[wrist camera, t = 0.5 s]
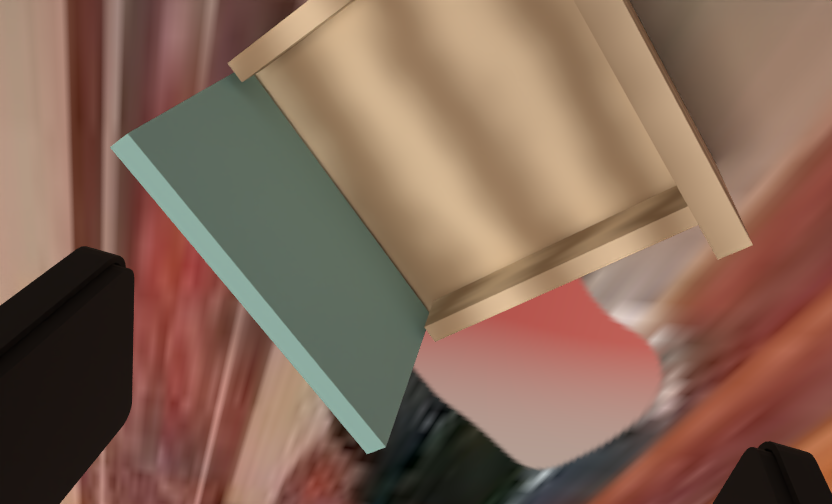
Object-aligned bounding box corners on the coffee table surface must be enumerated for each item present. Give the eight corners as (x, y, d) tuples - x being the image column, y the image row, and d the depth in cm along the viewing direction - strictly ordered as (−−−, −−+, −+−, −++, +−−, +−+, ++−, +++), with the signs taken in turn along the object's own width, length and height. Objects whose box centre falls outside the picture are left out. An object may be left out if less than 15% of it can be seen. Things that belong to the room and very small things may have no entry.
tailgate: (246, 65, 39) (127, 133, 29) (431, 315, 45) (385, 447, 35) (222, 83, 40) (98, 156, 30) (406, 326, 46) (355, 458, 35)
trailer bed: (540, -168, 34) (526, -181, 25) (716, 164, 40) (752, 244, 31) (253, 53, 42) (170, 99, 34) (433, 299, 48) (400, 391, 40)
